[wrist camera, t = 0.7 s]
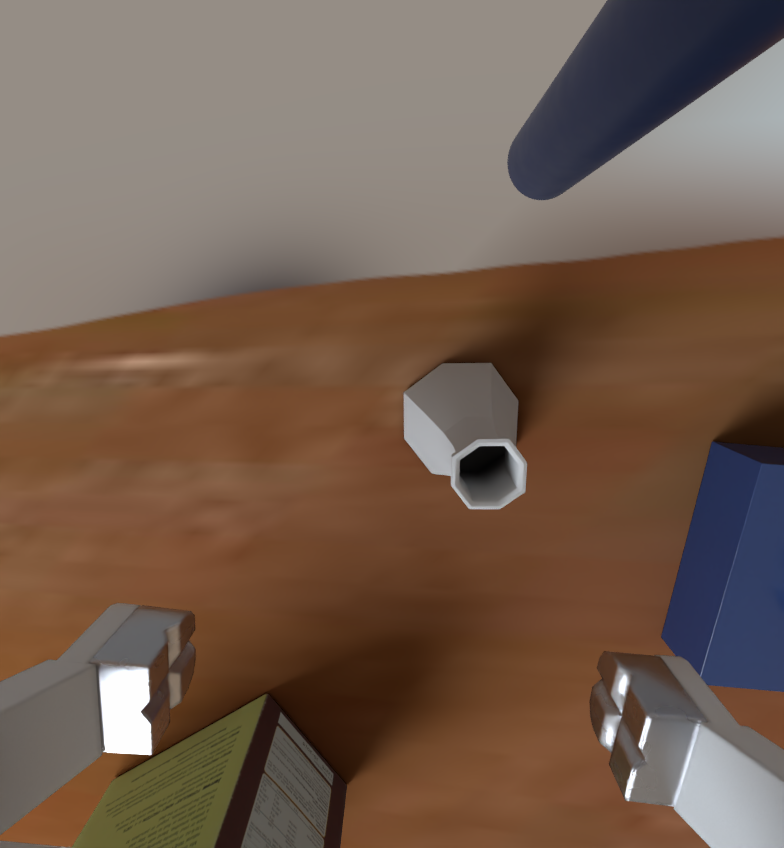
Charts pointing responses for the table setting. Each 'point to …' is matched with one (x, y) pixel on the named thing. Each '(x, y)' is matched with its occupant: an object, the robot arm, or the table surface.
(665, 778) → the robot arm
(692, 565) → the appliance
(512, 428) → the flask
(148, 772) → the protein box
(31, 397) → the table surface
